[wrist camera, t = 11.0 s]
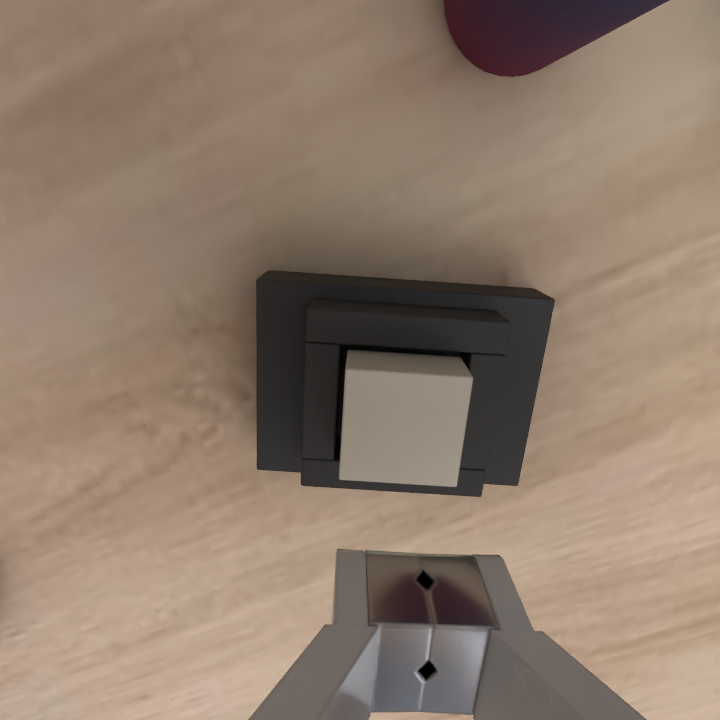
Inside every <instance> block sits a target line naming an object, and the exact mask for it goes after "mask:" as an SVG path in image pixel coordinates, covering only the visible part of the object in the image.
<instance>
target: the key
mask: <svg viewBox="0 0 720 720" xmlns="http://www.w3.org/2000/svg"><path fill="white" fill-rule="evenodd" d="M472 383H473V377H472V375H471V373H470V372H469V370H468V368H467V367H466V365H465V363H464V362H463V360H462V359H461V357H451V356H436V355H421V354H406V353H391V352H376V351H361V350H348V351H347V359H346V369H345V384H344V400H343V417H342V433H341V450H340V466H339V479H340V480H351V481H368V482H384V483H400V484H416V485H432V486H448V487H456V486H457V481H458V475H459V468H460V461H461V455H462V448H463V442H464V435H465V429H466V422H467V416H468V409H469V403H470V396H471V389H472Z"/></svg>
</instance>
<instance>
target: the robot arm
mask: <svg viewBox="0 0 720 720" xmlns="http://www.w3.org/2000/svg"><path fill="white" fill-rule="evenodd" d="M370 712H432V713H450V714H468V715H474V716H473V718H474V720H646V719H645V718H644V717H643V716H642V715H641V714H639V713H638V712H637V711H636V710H635V709H634V708H632V707H631V706H630V705H629V704H628V703H626V702H625V701H624V700H623V699H622V698H621V697H619V696H618V695H617V694H616V693H615V692H614V691H612V690H611V689H610V688H609V687H608V686H606V685H605V684H604V683H603V682H602V681H601V680H599V679H598V678H597V677H596V676H595V675H594V674H592V673H591V672H590V671H589V670H588V669H586V668H585V667H584V666H583V665H582V664H581V663H579V662H578V661H577V660H576V659H575V658H573V657H572V656H571V655H570V654H569V653H568V652H566V651H565V650H564V649H563V648H562V647H561V646H559V645H558V644H557V643H556V642H555V641H553V640H552V639H551V638H550V637H549V636H548V635H546V634H545V633H544V632H543V631H534V630H533V627H532V625H531V623H530V620H529V618H528V616H527V613H526V611H525V609H524V606H523V604H522V602H521V599H520V597H519V595H518V592H517V590H516V588H515V585H514V583H513V581H512V578H511V576H510V574H509V571H508V569H507V567H506V564H505V562H504V560H503V558H502V557H500V556H499V555H452V554H418V553H402V552H386V551H370V550H365V552H364V551H362V550H345V549H337V554H336V567H335V583H334V600H333V616H332V625H324V626H323V628H322V629H321V630H320V631H319V633H318V634H317V635H316V636H315V638H314V639H313V640H312V641H311V643H310V644H309V645H308V646H307V648H306V649H305V650H304V651H303V653H302V654H301V655H300V656H299V657H298V659H297V660H296V661H295V662H294V664H293V665H292V666H291V667H290V669H289V670H288V671H287V672H286V674H285V675H284V676H283V677H282V679H281V680H280V681H279V682H278V684H277V685H276V686H275V687H274V688H273V690H272V691H271V692H270V693H269V695H268V696H267V697H266V698H265V700H264V701H263V702H262V703H261V705H260V706H259V707H258V708H257V710H256V711H255V712H254V713H253V715H252V716H251V717H250V718H249V719H248V720H368V719H369V717H370Z"/></svg>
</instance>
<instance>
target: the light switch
mask: <svg viewBox="0 0 720 720" xmlns="http://www.w3.org/2000/svg"><path fill="white" fill-rule="evenodd" d="M256 295H257V469H258V470H272V471H288V472H301V485H302V486H314V487H330V488H346V489H362V490H378V491H394V492H410V493H426V494H442V495H459V496H475V497H481V495H482V489H483V484H495V485H511V486H517V485H518V482H519V477H520V472H521V467H522V462H523V457H524V452H525V447H526V442H527V437H528V432H529V427H530V422H531V417H532V412H533V407H534V402H535V397H536V392H537V387H538V382H539V377H540V372H541V367H542V362H543V357H544V352H545V347H546V342H547V337H548V332H549V327H550V322H551V317H552V312H553V307H554V302H555V300H554V299H553V298H551V297H549V296H547V295H545V294H543V293H542V292H540V291H538V290H536V289H532V288H517V287H502V286H488V285H473V284H459V283H444V282H429V281H415V280H400V279H386V278H371V277H356V276H342V275H327V274H312V273H298V272H283V271H267V272H266V273H264V274H263V275H262V276H260V277H259V278H258V279H257V280H256ZM348 350H361V351H376V352H391V353H406V354H421V355H436V356H451V357H461V359H462V360H463V362H464V363H465V365H466V367H467V368H468V370H469V372H470V373H471V375H472V377H473V383H472V389H471V396H470V403H469V409H468V416H467V422H466V429H465V435H464V442H463V448H462V455H461V461H460V468H459V475H458V481H457V486H456V487H448V486H432V485H416V484H400V483H384V482H368V481H351V480H340V479H339V466H340V450H341V433H342V417H343V400H344V384H345V369H346V359H347V351H348Z"/></svg>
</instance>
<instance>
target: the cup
mask: <svg viewBox="0 0 720 720" xmlns="http://www.w3.org/2000/svg"><path fill="white" fill-rule="evenodd" d="M667 1H669V0H444V5H445V15H446V19H447V23H448V27H449V31H450V33H451V35H452V37H453V39H454V42H455V44H456V45H457V46H458V48H459V49H460V51H461V52H462V53H463V55H464V56H465V57H466V58H467V59H468V60H469V61H471V62H472V63H473V64H474V65H475V66H477V67H479V68H481V69H482V70H484V71H486V72H489V73H492V74H495V75H499V76H512V77H513V76H520V75H526V74H529V73H532V72H534V71H537V70H540V69H542V68H544V67H545V66H547V65H549V64H551V63H553V62H555V61H557V60H558V59H560V58H562V57H564V56H566V55H568V54H570V53H572V52H573V51H575V50H577V49H579V48H581V47H583V46H585V45H587V44H588V43H590V42H592V41H594V40H596V39H598V38H600V37H602V36H603V35H605V34H607V33H609V32H611V31H613V30H615V29H617V28H618V27H620V26H622V25H624V24H626V23H628V22H630V21H631V20H633V19H635V18H637V17H639V16H641V15H643V14H645V13H646V12H648V11H650V10H652V9H654V8H656V7H658V6H660V5H661V4H663V3H665V2H667Z"/></svg>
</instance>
